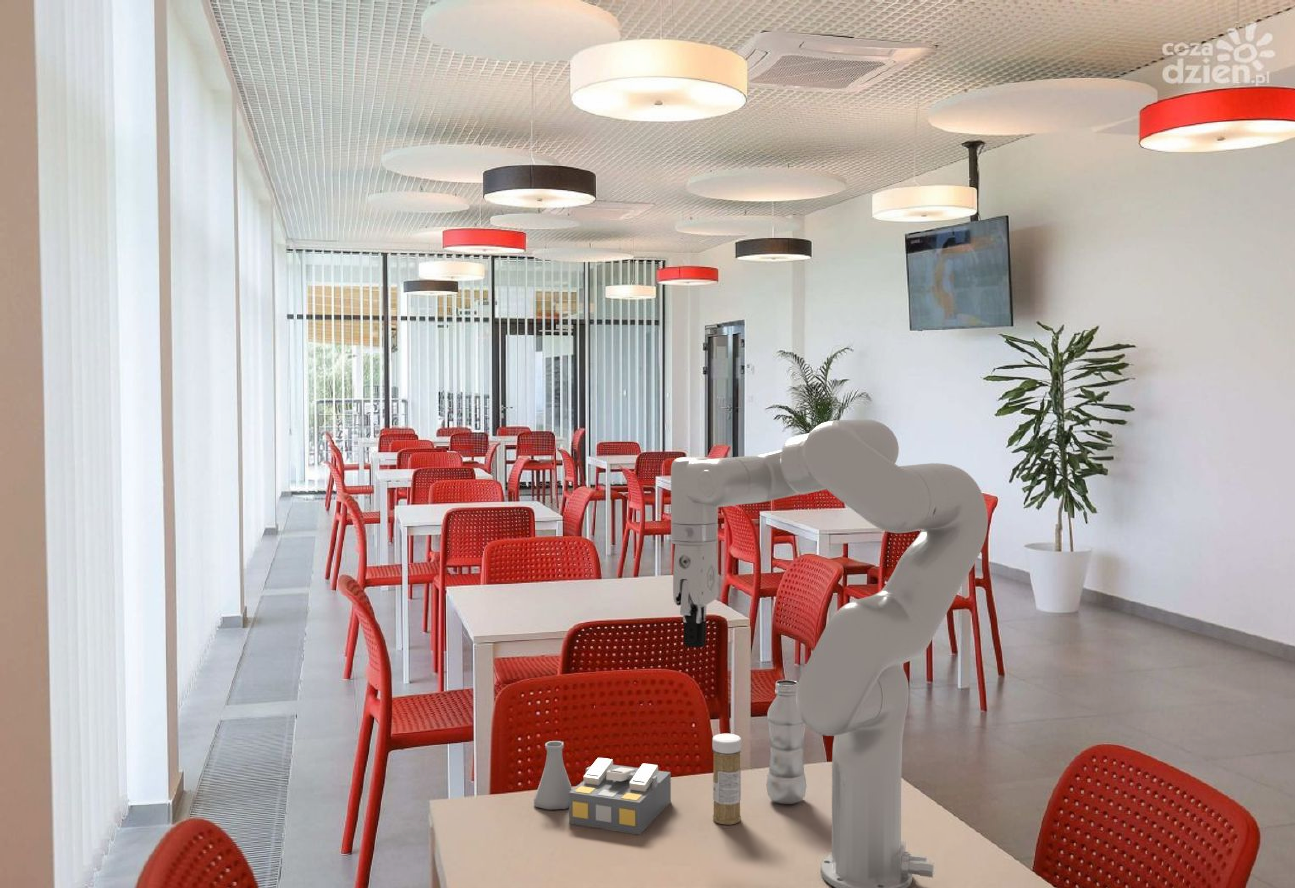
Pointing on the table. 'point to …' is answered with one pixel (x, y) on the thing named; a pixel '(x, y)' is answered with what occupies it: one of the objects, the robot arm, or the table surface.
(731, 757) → the sprinkles bottle
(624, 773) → the switch
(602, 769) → the switch
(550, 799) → the flask
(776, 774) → the plastic bottle
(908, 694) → the robot arm
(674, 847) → the table surface
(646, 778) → the switch
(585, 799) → the console
